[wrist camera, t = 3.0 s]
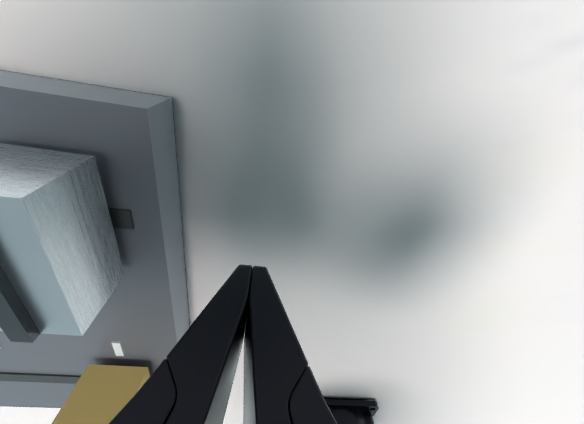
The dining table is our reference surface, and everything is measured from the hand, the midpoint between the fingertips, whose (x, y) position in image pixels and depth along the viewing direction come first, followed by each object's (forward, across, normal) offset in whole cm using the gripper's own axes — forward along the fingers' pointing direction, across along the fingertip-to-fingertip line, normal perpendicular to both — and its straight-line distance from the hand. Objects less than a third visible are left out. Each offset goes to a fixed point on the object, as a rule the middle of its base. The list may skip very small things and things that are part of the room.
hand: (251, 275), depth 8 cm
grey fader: (+2, +6, 0) cm, 7 cm away
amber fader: (+2, +7, +12) cm, 14 cm away
